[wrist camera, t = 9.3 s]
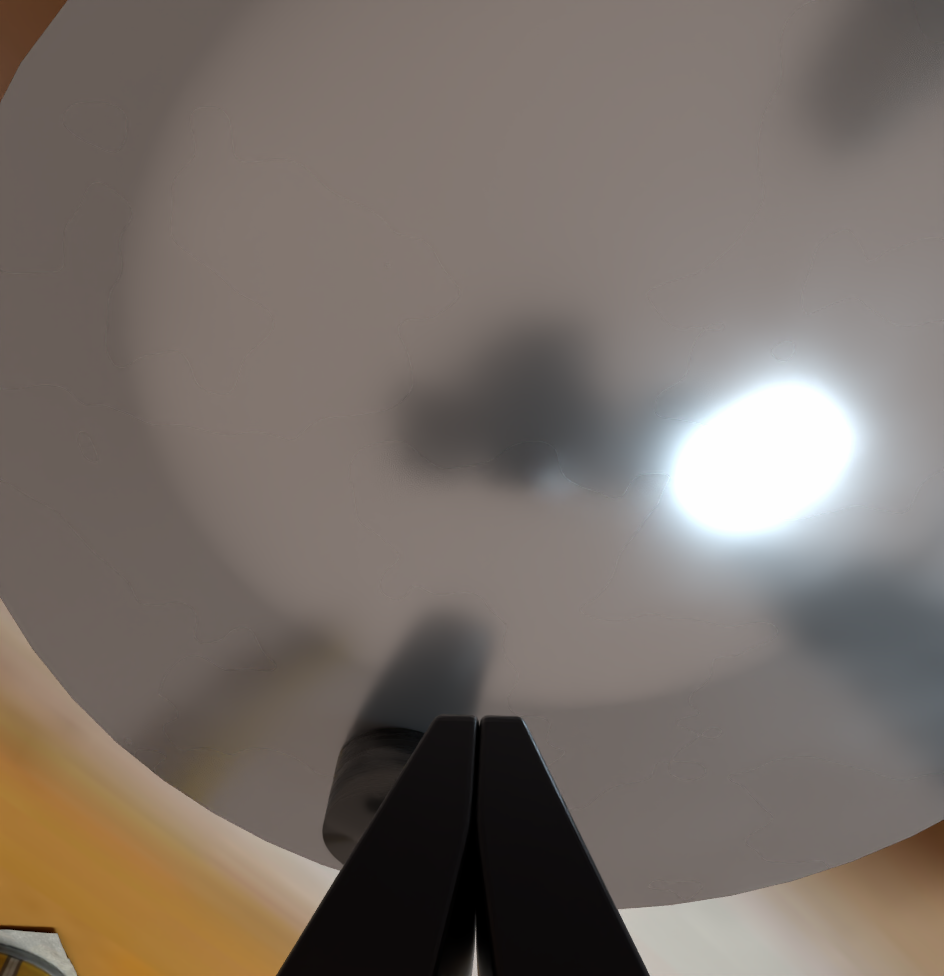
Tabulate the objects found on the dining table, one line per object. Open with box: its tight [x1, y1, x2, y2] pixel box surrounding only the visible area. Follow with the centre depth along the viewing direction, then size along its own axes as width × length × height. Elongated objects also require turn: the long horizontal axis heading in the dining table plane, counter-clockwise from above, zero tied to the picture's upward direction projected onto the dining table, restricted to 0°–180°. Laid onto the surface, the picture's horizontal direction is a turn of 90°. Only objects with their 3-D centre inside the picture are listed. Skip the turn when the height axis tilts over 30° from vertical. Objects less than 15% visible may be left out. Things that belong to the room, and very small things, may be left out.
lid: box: [0, 0, 944, 909], centre depth 12 cm, size 17×16×3 cm
